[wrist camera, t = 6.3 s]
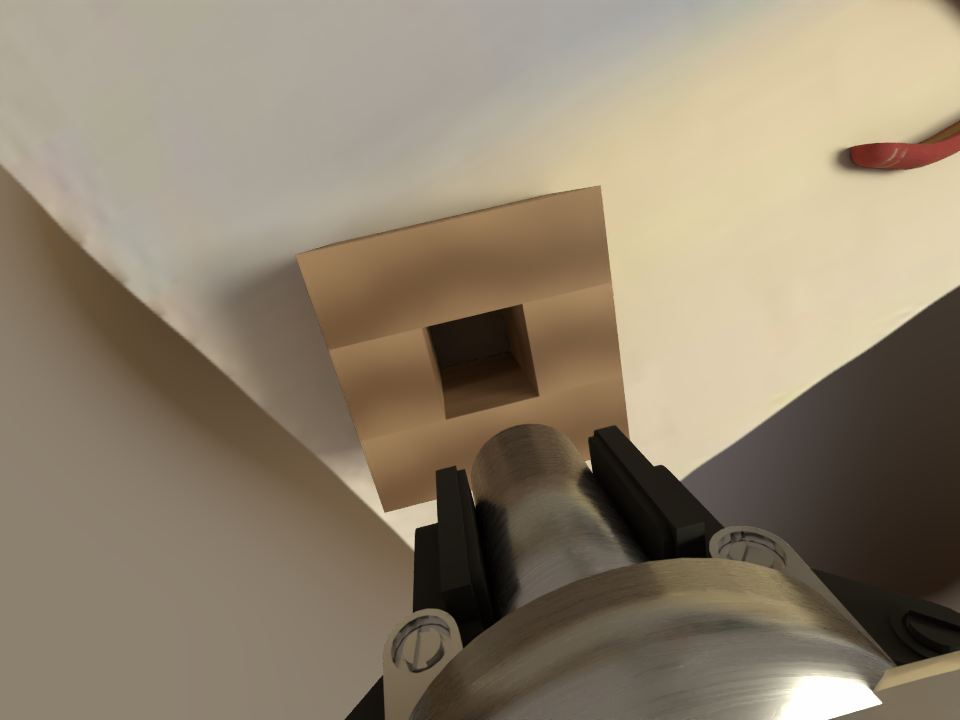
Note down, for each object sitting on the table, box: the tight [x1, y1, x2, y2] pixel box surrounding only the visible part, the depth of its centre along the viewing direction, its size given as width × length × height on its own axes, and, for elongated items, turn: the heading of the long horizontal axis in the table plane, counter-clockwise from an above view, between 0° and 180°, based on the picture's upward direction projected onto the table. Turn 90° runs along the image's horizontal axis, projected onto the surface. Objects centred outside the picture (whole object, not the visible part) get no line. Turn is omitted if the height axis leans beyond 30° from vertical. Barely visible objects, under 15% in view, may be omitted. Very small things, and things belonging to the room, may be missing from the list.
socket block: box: [295, 185, 630, 512], centre depth 26 cm, size 14×14×8 cm
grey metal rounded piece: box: [408, 424, 897, 720], centre depth 9 cm, size 7×7×9 cm
